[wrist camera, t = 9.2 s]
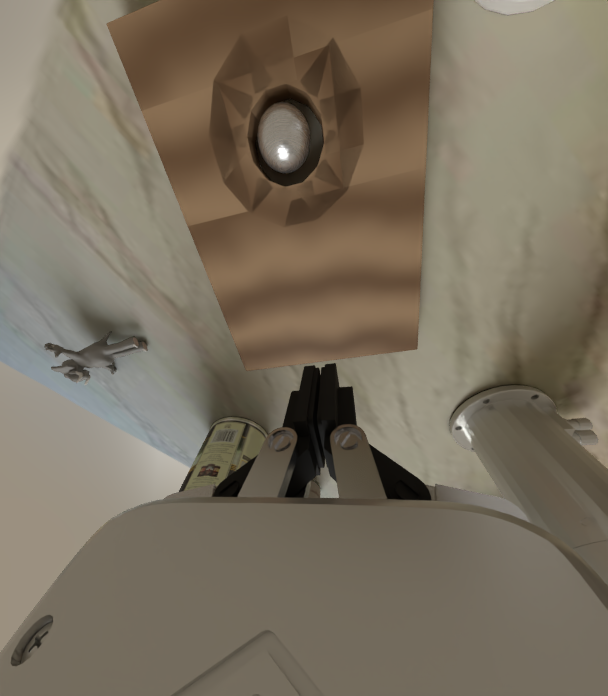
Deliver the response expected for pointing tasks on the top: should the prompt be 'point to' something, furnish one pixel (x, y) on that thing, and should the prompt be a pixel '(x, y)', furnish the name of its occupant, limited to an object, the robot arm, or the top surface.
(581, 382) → the top surface
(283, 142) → the ball
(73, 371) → the grey toy figure
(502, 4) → the decorative container
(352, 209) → the deck
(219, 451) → the coffee can
